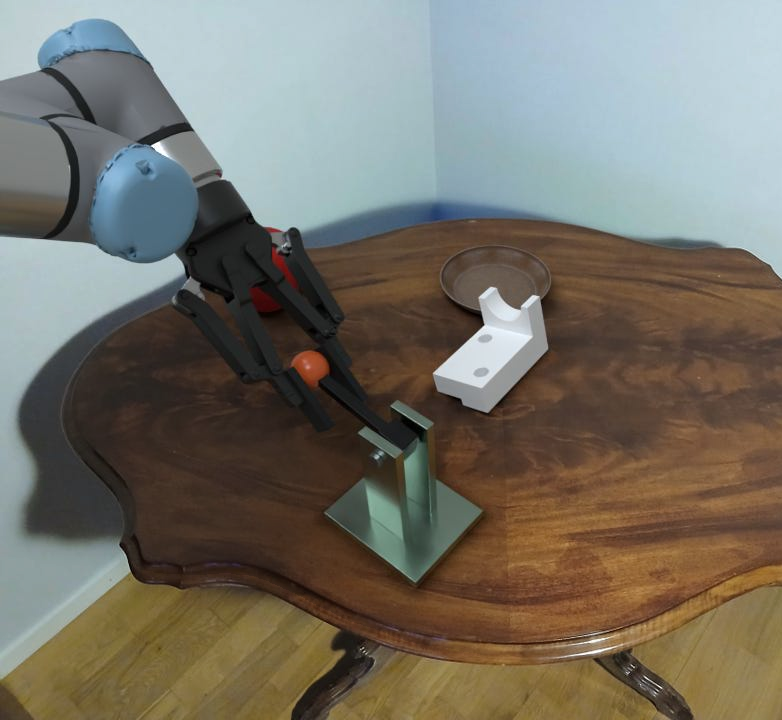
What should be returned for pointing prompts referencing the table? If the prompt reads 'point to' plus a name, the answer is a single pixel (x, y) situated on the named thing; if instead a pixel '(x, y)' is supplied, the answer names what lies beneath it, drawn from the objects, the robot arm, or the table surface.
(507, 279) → the saucer
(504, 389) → the bracket
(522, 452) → the table surface
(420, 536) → the clamp
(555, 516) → the table surface
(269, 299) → the apple
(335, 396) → the clamp lever
